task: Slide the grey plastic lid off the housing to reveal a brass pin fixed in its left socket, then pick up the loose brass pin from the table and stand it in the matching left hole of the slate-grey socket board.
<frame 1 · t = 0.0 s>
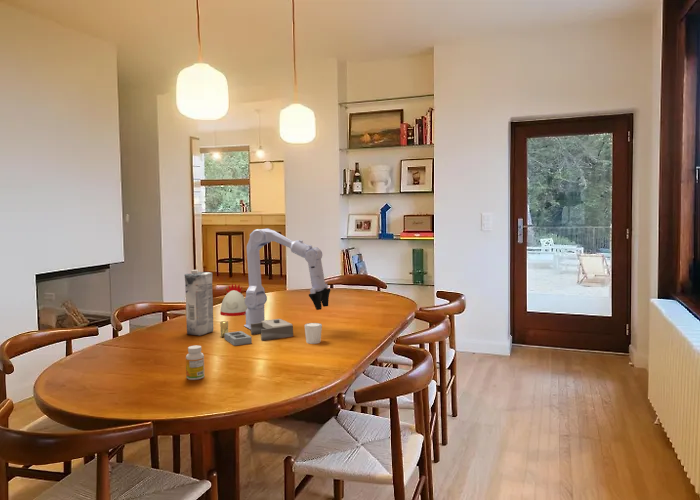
hand: (322, 308, 220), 11 cm above the table, tool pointing down, fingers open, 7 cm apart
lid: (276, 323, 217), point 5 cm above the table, slide at 0.0 cm
pin: (224, 336, 215), on the table
housing: (276, 334, 217), on the table
white cup: (313, 342, 205), on the table
socket board: (237, 341, 207), on the table
supplement bottle: (195, 378, 163), on the table
juice carton: (200, 333, 221), on the table
kitchen timer: (234, 313, 262), on the table
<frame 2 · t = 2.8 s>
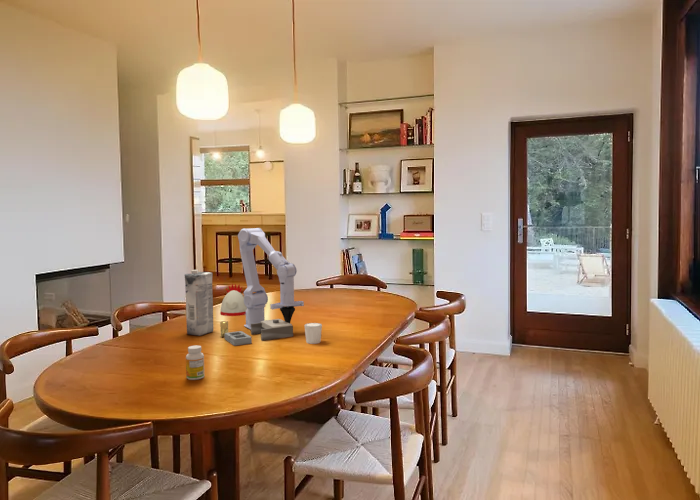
hand: (287, 324, 220), 4 cm above the table, tool pointing down, fingers closed
lid: (275, 324, 217), point 5 cm above the table, slide at 0.3 cm, touching gripper
everything else where it was.
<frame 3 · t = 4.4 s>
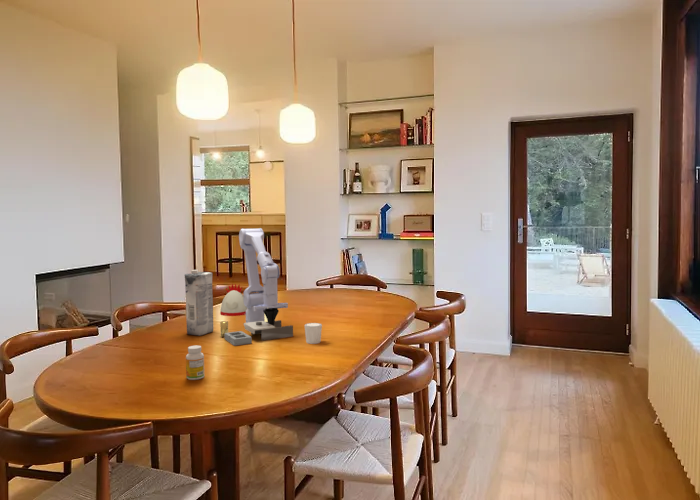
hand: (271, 326, 216), 4 cm above the table, tool pointing down, fingers closed
lid: (258, 326, 213), point 5 cm above the table, slide at 7.8 cm, touching gripper
everything else where it was.
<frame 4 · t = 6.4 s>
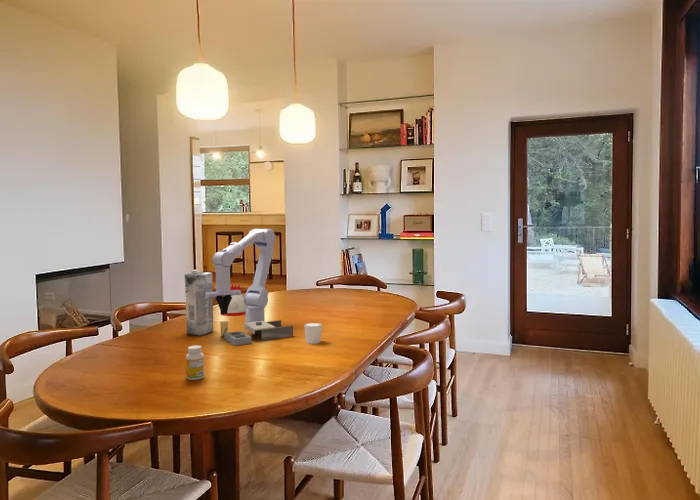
hand: (223, 313, 214), 9 cm above the table, tool pointing down, fingers closed
lid: (258, 326, 213), point 5 cm above the table, slide at 7.9 cm
everything else where it was.
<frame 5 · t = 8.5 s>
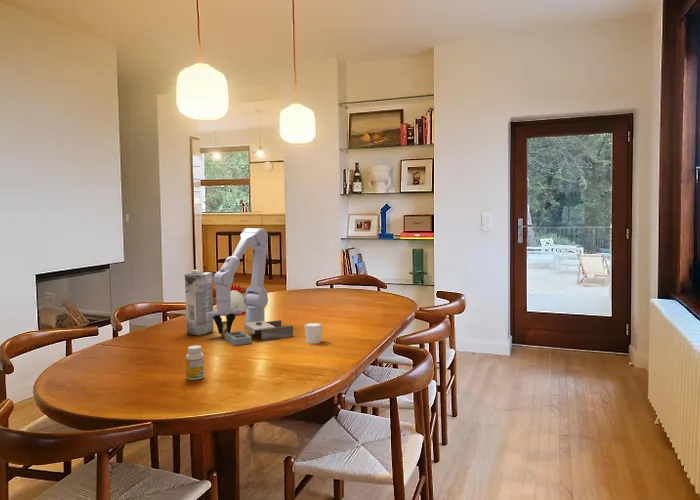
hand: (224, 332, 215), 1 cm above the table, tool pointing down, fingers closed on pin, 3 cm apart
pin: (224, 336, 215), on the table, touching gripper
everything else where it was.
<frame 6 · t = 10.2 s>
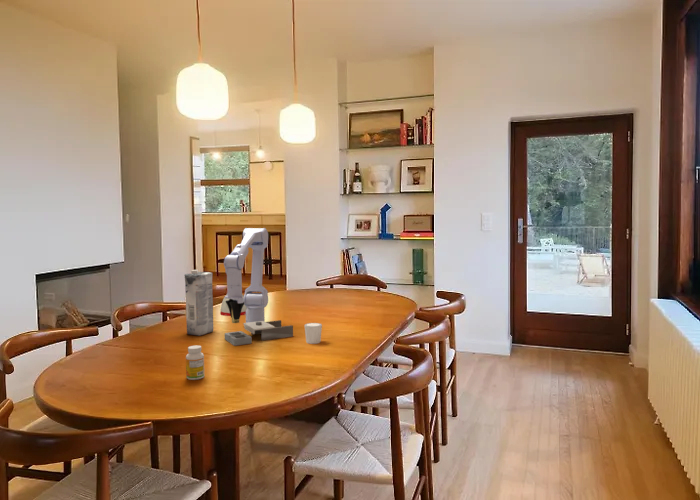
hand: (235, 318, 208), 9 cm above the table, tool pointing down, fingers closed on pin, 3 cm apart
pin: (235, 322, 208), point 7 cm above the table, touching gripper
everything else where it was.
when the fingers open (3 cm above the table, at t = 11.7 s): pin drops 2 cm, resting in socket board.
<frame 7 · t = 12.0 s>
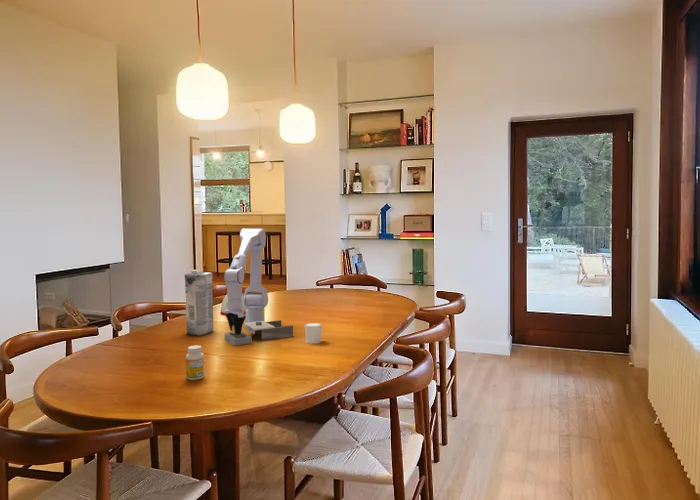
hand: (235, 332, 209), 3 cm above the table, tool pointing down, fingers open, 5 cm apart
pin: (236, 339, 209), resting in socket board
everything else where it was.
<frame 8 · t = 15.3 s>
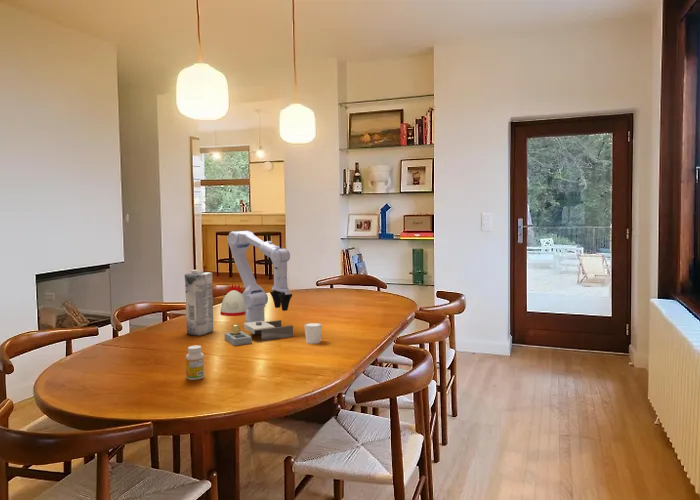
hand: (281, 309, 221), 10 cm above the table, tool pointing down, fingers open, 7 cm apart
nothing on the table moved.
at the end: lid slide at 7.9 cm; pin 0.1 cm from the target spot on the socket board, point 0.0 cm above the socket board's base; pin tilted 0° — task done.
